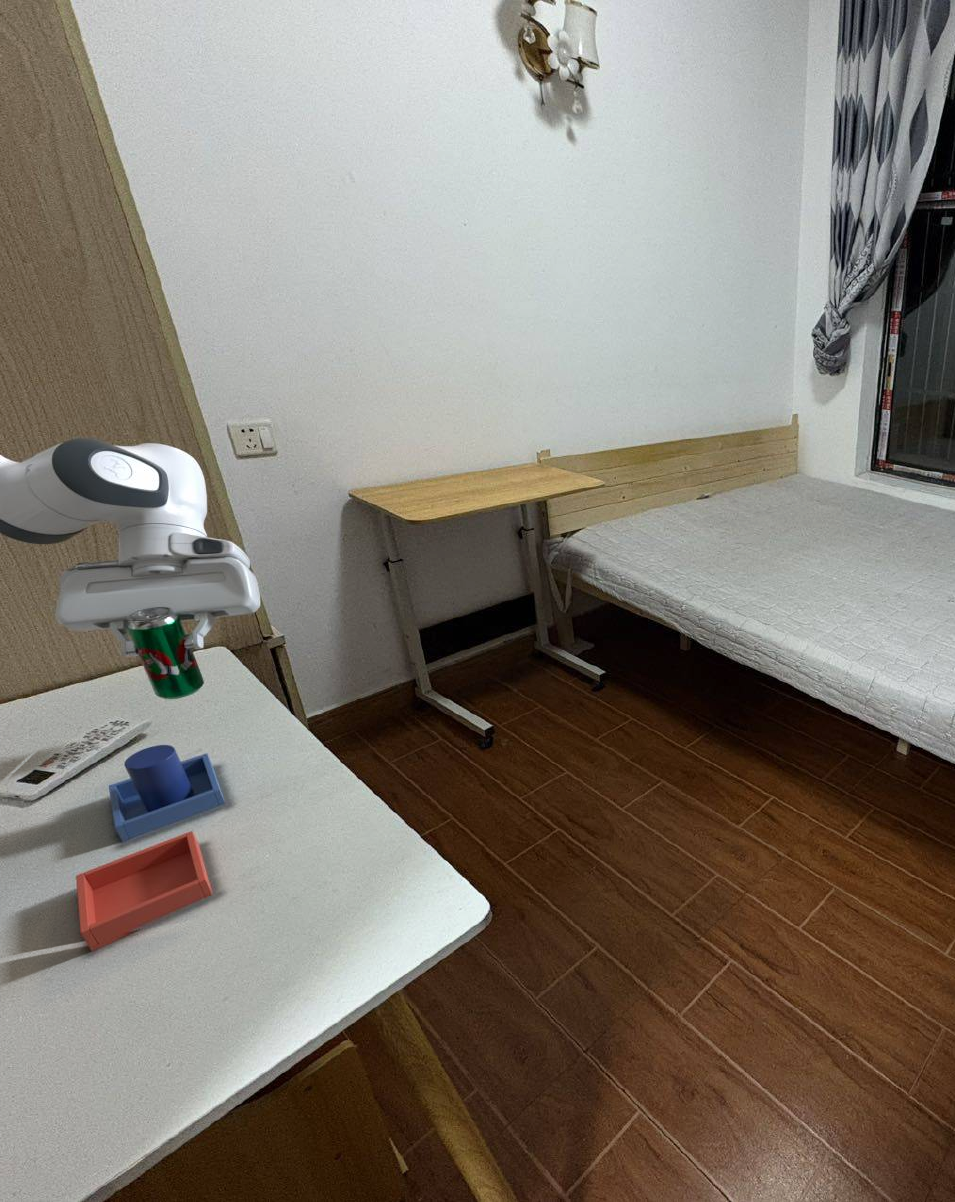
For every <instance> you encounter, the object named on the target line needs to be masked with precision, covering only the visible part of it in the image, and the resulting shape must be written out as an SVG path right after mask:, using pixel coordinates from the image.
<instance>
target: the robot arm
mask: <svg viewBox="0 0 955 1202" xmlns="http://www.w3.org/2000/svg"><path fill="white" fill-rule="evenodd" d="M206 485H207V484H206V480H205V476H204V472H203V471H202V468H201V466H200V465H199V463H198V461H197V460H196V459H195V458H194V457H193V456H192V455H191V454H189V453H187V452H185V451H184V450H181V449H180V448H177V447H173V446H171V445H168V444H164V443H163V444H162V443H155V442H146V443H143V442H142V443H139V444H136V445H117V444H116V445H115V444H111V443H109V442H106V441H103V440H100V439H95V438H94V439H93V438H86V437H85V438H84V437H83V438H81V437H80V438H73V439H68V440H66V441H64V442H61V443H58V444H56V445H54V446H51V447H49V448H47V449H45V450H43V451H41V452H38V453H37V454H34V455H33V456H32V457H30V458H28V459H25V460H23V461H22V462H19V461H15V460H11V459H9V458H7V457H4V456H3V455H1V454H0V534H2V535H3V536H5V537H7V538H9V539H13V540H15V541H19V542H22V543H27V544H33V545H54V544H55V545H56V544H59V543H63V542H65V541H68V540H70V539H71V538H73V537H75V536H77V535H79V534H80V533H81V532H83V531H85V530H87V529H88V528H90V527H91V526H94V525H96V524H98V523H100V522H108V523H112V524H115V526H117V527H118V531H119V532H118V559H112V560H101V561H95V562H90V561H83V562H78V563H76V564H75V565H74V566H71V567H69V568H67V569H65V570H64V571H62V572H61V574H60V577H59V587H60V592H59V594H58V597H57V602H56V608H55V615H54V617H55V620H56V622H58V624H60V625H62V626H63V627H65V628H67V629H68V630H71V631H73V632H88V631H99V630H109V631H110V633H111V634H112V635H113V636H114V637H115V638H116V640H118V642H120V654H121V656H123V657H124V658H133V657H134V658H135V657H139V655H138V653H137V651H136V648H135V646H134V644H133V641H132V639H131V637H129V636H128V634H129V632H128V630H127V627H126V626H127V624H128V622H129V621H128V616H130V615H131V614H133V613H135V612H137V611H140V610H143V609H148V608H153V607H169V608H171V609H172V610H173V612H174V613H176V614H178V615H179V617H180V620H181V622H185V621H193V620H194V621H195V622H196V623H197V625H196V626H195V628H194V629H193V630H192V632H191V633H186V635H184V640H185V642H184V647H185V648H186V649H188V650H192V651H193V650H201V649H204V638H205V637H206V636H207V634H208V633H209V632H210V631H211V629H212V628H213V627H214V625H215V618H221V617H222V618H224V617H232V616H243V615H252V614H255V613H256V612H257V611H258V610H259V608H260V607H261V593H260V587H259V583H258V580H257V578H256V576H255V574H254V573H253V572H252V571H251V570H250V567H251V560H250V558H249V556H248V555H247V554H246V552H245V551H244V550H242V548H241V547H240V546H238V545H237V544H235V543H234V542H232V541H231V540H228V539H227V540H226V539H220V538H219V539H218V538H214V537H208V534H207V532H206V530H205V526H204V523H205V520H206V517H207V516H208V495H207V486H206ZM129 635H130V634H129Z"/></svg>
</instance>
